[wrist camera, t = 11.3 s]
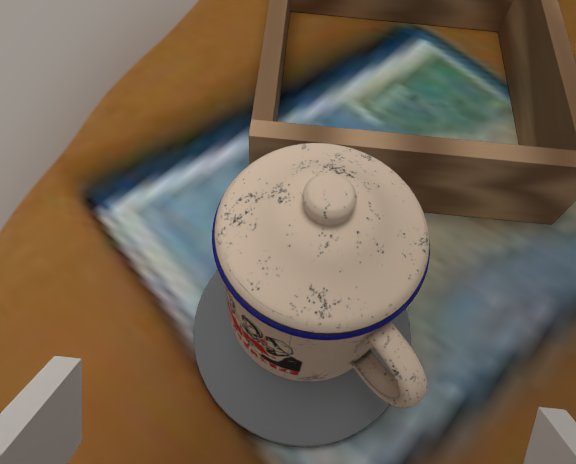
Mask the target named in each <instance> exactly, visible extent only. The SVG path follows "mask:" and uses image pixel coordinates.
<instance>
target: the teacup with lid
mask: <svg viewBox="0 0 576 464" xmlns="http://www.w3.org/2000/svg"><path fill="white" fill-rule="evenodd" d="M212 245H213V253H214V258H215V262H216V265H217V268H218V271H219V273H220V276H221V278H222V280H223V282H224V285H225V292H226V298H227V305H228V311H229V317H230V322H231V326H232V329H233V332H234V334H235V336H236V338H237V340H238V342H239V344H240V345H241V347H242V348H243V349H244V351H245V352H246V353H247V354H248V355H249V357H250V358H252V359H253V360H254V361H255V362H256V363H257V364H258V365H260V366H261V367H262V368H264V369H266V370H267V371H269V372H271V373H273V374H275V375H277V376H280V377H283V378H286V379H290V380H295V381H304V382H313V381H322V380H327V379H331V378H334V377H337V376H339V375H341V374H343V373H345V372H347V371H349V370H350V369H352V368H354V369H355V370H356V372H357V373H358V374H359V376H360V377H361V378H362V379H363V381H364V382H365V383H366V384H367V385H368V386H369V388H370V389H371V390H372V391H373V392H374V393H375V394H376V395H378V396H379V397H380V398H381V399H383V400H384V401H386V402H387V403H389V404H391V405H393V406H395V407H398V408H409V407H411V406H413V405H415V404H416V403H417V402H419V401H420V400H421V399H422V398H423V397H424V396H425V394H426V392H427V379H426V375H425V372H424V370H423V367H422V365H421V363H420V361H419V359H418V357H417V356H416V354H415V352H414V351H413V349H412V348H411V346H410V345H409V344H408V342H407V341H406V340H405V338H404V337H403V336H402V335H401V333H400V332H399V331H398V330H397V328H396V327H395V326H394V325H393V323H392V322H391V321H392V320H393V319H394V318H395V317H397V316H398V315H399V314H400V313H401V312H402V311H403V310H405V309H406V308H407V306H408V305H409V304H410V303H411V302H412V300H413V299H414V297H415V296H416V294H417V293H418V291H419V289H420V287H421V285H422V283H423V281H424V278H425V275H426V273H427V268H428V264H429V256H430V241H429V231H428V226H427V222H426V219H425V215H424V213H423V210H422V208H421V206H420V204H419V202H418V200H417V198H416V197H415V195H414V194H413V192H412V191H411V189H410V188H409V186H408V185H407V184H406V183H405V182H404V181H403V179H402V178H401V177H400V176H399V175H398V174H397V173H395V172H394V171H393V170H392V169H391V168H389V167H388V166H387V165H385V164H384V163H382V162H381V161H379V160H377V159H376V158H374V157H372V156H370V155H368V154H366V153H363V152H361V151H358V150H355V149H352V148H349V147H345V146H341V145H335V144H327V143H306V144H298V145H292V146H288V147H284V148H281V149H278V150H275V151H273V152H271V153H268V154H266V155H264V156H263V157H261V158H259V159H257V160H256V161H254V162H253V163H251V164H250V165H249V166H248V167H246V168H245V169H244V170H243V171H242V172H241V173H240V174H239V175H238V176H237V177H236V178H235V179H234V180H233V182H232V183H231V184H230V186H229V187H228V189H227V190H226V192H225V194H224V195H223V197H222V199H221V201H220V203H219V206H218V208H217V211H216V214H215V218H214V223H213V230H212ZM373 347H374V348H375V349H376V351H377V352H378V353H379V355H380V356H381V357H382V359H383V360H384V362H385V363H386V364H387V366H388V367H389V369H390V371H391V372H392V373H391V372H390V371H389V370H388V369H387V368H386V367H385V366H384V364H383V363H382V362H381V361H380V360H379V359H378V357H377V356H376V355H375V353H374V352H373V351H372V350H371V349H372V348H373Z"/></svg>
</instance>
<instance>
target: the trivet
mask: <svg viewBox="0 0 576 464" xmlns="http://www.w3.org/2000/svg"><path fill="white" fill-rule="evenodd" d="M391 322H392V323H393V325H394V326H395V327H396V328H397V330H398V331H399V332H400V333H401V335H402V336H403V337H404V338H405V340H406V341H407V342H408V344H409V345H410V346H411V333H410V324H409V320H408V316H407V312H406V309H405V310H403V311H402V312H401V313H400V314H399V315H398V316H397V317H395V318H394V319H393V320H392V321H391ZM194 349H195V355H196V360H197V363H198V367H199V370H200V373H201V376H202V378H203V380H204V382H205V384H206V387H207V389H208V391H209V392H210V394H211V396H212V397H213V399H214V400H215V402H216V403H217V404H218V406H219V407H220V408H221V409H222V410H223V411H224V413H225V414H226V415H227V416H228V417H230V418H231V419H232V420H233V421H234V422H235V423H236V424H238V425H239V426H240V427H242V428H244V429H245V430H247V431H248V432H250V433H251V434H253V435H256V436H258V437H260V438H262V439H264V440H267V441H270V442H273V443H277V444H281V445H287V446H293V447H314V446H322V445H327V444H331V443H335V442H338V441H341V440H343V439H346V438H348V437H350V436H352V435H354V434H356V433H357V432H359V431H361V430H362V429H364V428H365V427H367V426H368V425H369V424H370V423H372V422H373V421H374V420H375V419H376V418H378V417H379V416H380V415H381V414H382V413H383V412H384V410H385V409H386V408H387V407H388V406H389V405H390V404H389V403H387V402H386V401H384V400H383V399H381V398H380V397H379V396H378V395H376V394H375V393H374V392H373V391H372V390H371V389H370V388H369V386H368V385H367V384H366V383H365V382H364V381H363V379H362V378H361V377H360V376H359V374H358V373H357V372H356V370H355V369H354V368H352V369H350V370H349V371H347V372H345V373H343V374H341V375H339V376H337V377H334V378H331V379H327V380H322V381H313V382H304V381H295V380H290V379H286V378H283V377H280V376H277V375H275V374H273V373H271V372H269V371H267V370H266V369H264V368H262V367H261V366H260V365H258V364H257V363H256V362H255V361H254V360H253V359H252V358H250V357H249V355H248V354H247V353H246V352H245V351H244V349H243V348H242V347H241V345H240V344H239V342H238V340H237V338H236V336H235V334H234V332H233V329H232V326H231V322H230V317H229V311H228V305H227V298H226V292H225V285H224V282H223V280H222V278H221V276H220V273H219V271H218V270H217V271H216V273H215V274H214V275H213V277H212V278H211V279H210V281H209V283H208V284H207V286H206V288H205V290H204V292H203V294H202V297H201V299H200V302H199V304H198V308H197V312H196V316H195V323H194ZM371 350H372V351H373V352H374V353H375V355H376V356H377V357H378V359H379V360H380V361H381V362H382V363H383V364H384V366H385V367H386V368H387V369H388V370H389V371H390V369H389V367H388V366H387V364H386V363H385V362H384V360H383V359H382V357H381V356H380V355H379V353H378V352H377V351H376V349H375V348H374V347H373V348H372V349H371ZM390 372H391V371H390ZM391 373H392V372H391Z"/></svg>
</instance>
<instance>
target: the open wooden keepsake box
mask: <svg viewBox="0 0 576 464" xmlns="http://www.w3.org/2000/svg"><path fill="white" fill-rule="evenodd" d="M290 11H293V12H303V13H313V14H324V15H334V16H344V17H354V18H364V19H375V20H385V21H395V22H405V23H415V24H426V25H436V26H446V27H456V28H466V29H477V30H487V31H497V32H498V35H499V40H500V46H501V51H502V56H503V62H504V67H505V72H506V78H507V83H508V88H509V94H510V99H511V104H512V109H513V115H514V120H515V125H516V131H517V136H518V141H519V145H512V144H502V143H492V142H481V141H471V140H461V139H450V138H440V137H429V136H419V135H409V134H398V133H388V132H378V131H367V130H357V129H347V128H336V127H326V126H315V125H305V124H295V123H284V122H277V121H278V112H279V104H280V95H281V87H282V78H283V70H284V61H285V53H286V44H287V36H288V27H289V19H290ZM306 143H327V144H335V145H341V146H345V147H349V148H352V149H355V150H358V151H361V152H363V153H366V154H368V155H370V156H372V157H374V158H376V159H377V160H379V161H381V162H382V163H384V164H385V165H387V166H388V167H389V168H391V169H392V170H393V171H394V172H395V173H397V174H398V175H399V176H400V177H401V178H402V179H403V181H404V182H405V183H406V184H407V185H408V186H409V188H410V189H411V191H412V192H413V194H414V195H415V197H416V198H417V200H418V202H419V204H420V206H421V208H422V210H423V212H428V213H439V214H449V215H460V216H470V217H481V218H491V219H502V220H512V221H522V222H533V223H543V224H553V223H554V222H555V221H556V220H557V219H558V218H559V217H560V216H561V215H562V214H563V213H564V212H565V211H566V210H567V209H568V208H569V207H570V206H571V205H572V204H573V203H574V202H575V201H576V62H575V58H574V55H573V51H572V48H571V45H570V41H569V38H568V34H567V31H566V27H565V24H564V20H563V17H562V13H561V10H560V6H559V3H558V0H269V7H268V13H267V20H266V26H265V33H264V40H263V46H262V53H261V59H260V66H259V72H258V79H257V86H256V92H255V99H254V105H253V112H252V119H251V125H250V132H249V161H250V164H251V163H253V162H254V161H256V160H257V159H259V158H261V157H263V156H264V155H266V154H268V153H271V152H273V151H275V150H278V149H281V148H284V147H288V146H292V145H298V144H306Z"/></svg>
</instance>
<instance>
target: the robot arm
mask: <svg viewBox="0 0 576 464" xmlns="http://www.w3.org/2000/svg"><path fill="white" fill-rule="evenodd" d="M81 442H82V375H81V359H79V358H70V357H60V356H54V357H53V358H52V359H51V360H50V361H49V362H48V363H47V365H46V366H45V367H44V368H43V369H42V370H41V371H40V372H39V373H38V374H37V375H36V376H35V377H34V378H33V379H32V380H31V381H30V383H29V384H28V385H27V386H26V387H25V388H24V389H23V390H22V391H21V392H20V393H19V394H18V395H17V396H16V397H15V398H14V399H13V401H12V402H11V403H10V404H9V405H8V406H7V407H6V408H5V409H4V410H3V411H2V412H1V413H0V464H68V462H69V461H70V459H71V457H72V456H73V454H74V453H75V451H76V450H77V448H78V446H79V445H80V443H81ZM523 464H576V422H575V421H574V419H573V418H572V417H571V416H570V415H569V413H568V412H567V411H566V410H563V409H554V408H544V407H539V408H538V411H537V415H536V419H535V423H534V426H533V430H532V434H531V437H530V441H529V445H528V448H527V452H526V456H525V459H524V463H523Z"/></svg>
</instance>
